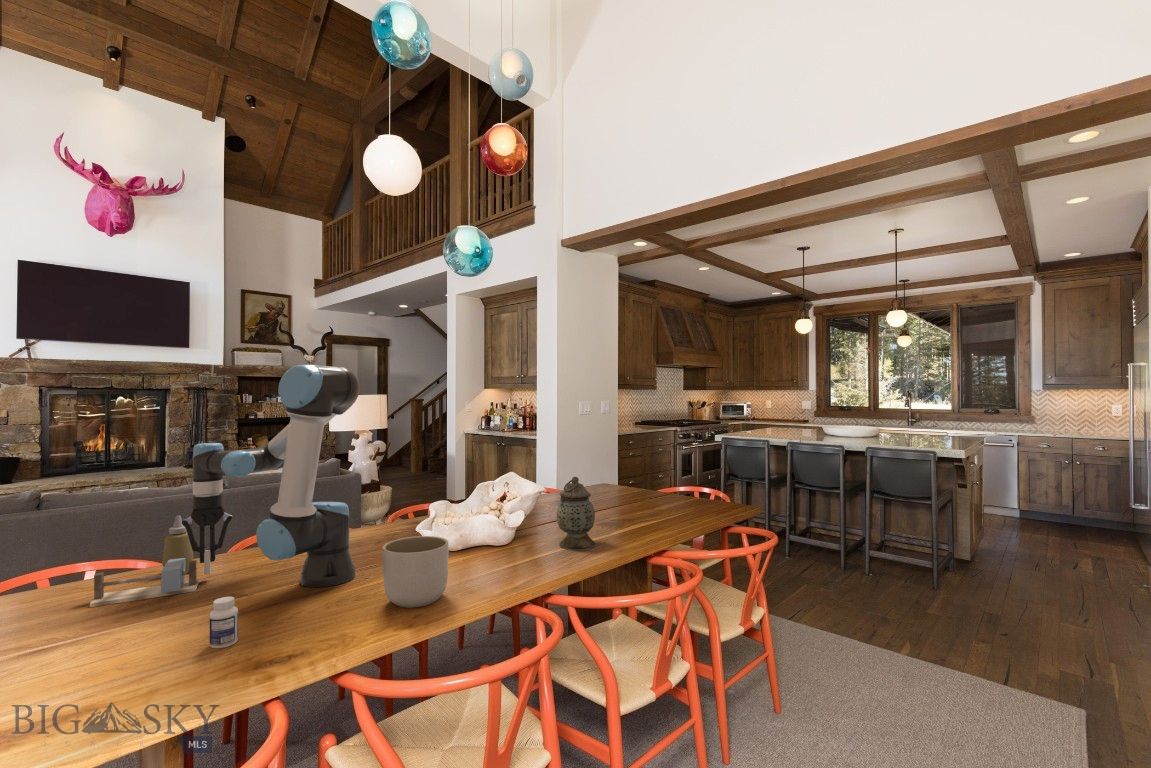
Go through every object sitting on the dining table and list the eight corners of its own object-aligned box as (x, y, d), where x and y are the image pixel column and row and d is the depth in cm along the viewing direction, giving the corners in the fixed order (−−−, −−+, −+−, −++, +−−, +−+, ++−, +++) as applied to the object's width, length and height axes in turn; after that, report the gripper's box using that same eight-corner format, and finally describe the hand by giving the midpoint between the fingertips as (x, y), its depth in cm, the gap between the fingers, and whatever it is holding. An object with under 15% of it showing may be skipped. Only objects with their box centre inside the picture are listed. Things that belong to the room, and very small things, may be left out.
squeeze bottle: (176, 578, 166) (177, 519, 167) (155, 576, 168) (155, 518, 168) (200, 569, 174) (200, 513, 175) (179, 568, 176) (179, 512, 176)
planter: (388, 618, 134) (387, 556, 134) (378, 596, 149) (378, 540, 149) (456, 605, 141) (455, 547, 142) (440, 585, 157) (440, 533, 157)
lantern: (596, 550, 190) (595, 479, 191) (556, 551, 190) (555, 479, 191) (595, 540, 204) (594, 473, 205) (557, 540, 204) (557, 474, 205)
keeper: (185, 577, 162) (185, 557, 162) (178, 590, 151) (179, 568, 151) (168, 580, 160) (168, 559, 160) (161, 593, 149) (161, 571, 149)
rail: (198, 582, 162) (198, 557, 162) (195, 591, 155) (195, 564, 155) (98, 597, 150) (98, 570, 151) (89, 607, 143) (89, 578, 144)
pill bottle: (218, 638, 124) (218, 595, 124) (242, 637, 124) (243, 594, 124) (204, 649, 118) (204, 604, 118) (229, 648, 119) (230, 603, 119)
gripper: (234, 490, 170) (234, 566, 170) (183, 494, 164) (183, 573, 163) (232, 494, 164) (232, 572, 163) (179, 498, 157) (179, 580, 157)
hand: (207, 572), depth 163 cm, fingers closed
